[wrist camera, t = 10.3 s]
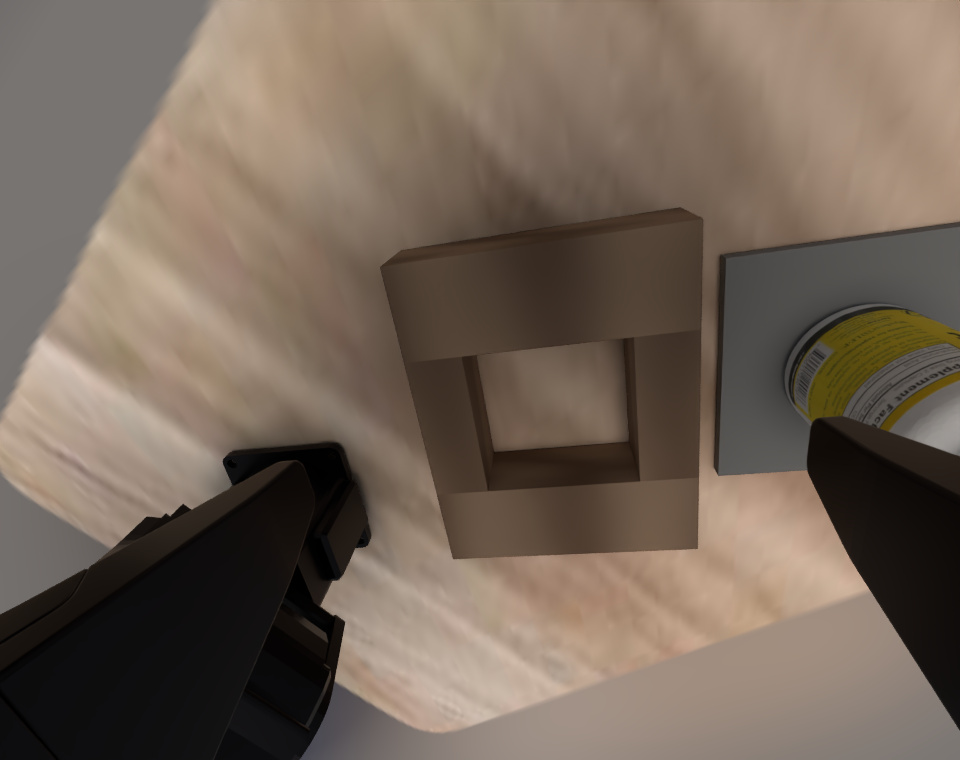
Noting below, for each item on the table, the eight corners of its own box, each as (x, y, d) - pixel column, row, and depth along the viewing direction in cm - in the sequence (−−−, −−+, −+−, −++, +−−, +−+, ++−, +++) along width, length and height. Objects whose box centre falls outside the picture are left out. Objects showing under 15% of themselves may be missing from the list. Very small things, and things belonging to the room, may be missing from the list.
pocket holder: (462, 516, 26) (453, 559, 24) (401, 250, 21) (380, 267, 18) (680, 503, 25) (697, 548, 22) (680, 207, 19) (703, 218, 16)
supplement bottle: (952, 380, 20) (1274, 572, 11) (812, 443, 22) (993, 650, 13) (902, 270, 18) (1230, 392, 10) (757, 348, 20) (920, 510, 11)
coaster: (714, 468, 24) (718, 475, 23) (721, 254, 19) (726, 258, 19) (958, 451, 22) (969, 459, 21) (1022, 213, 18) (1037, 216, 17)
